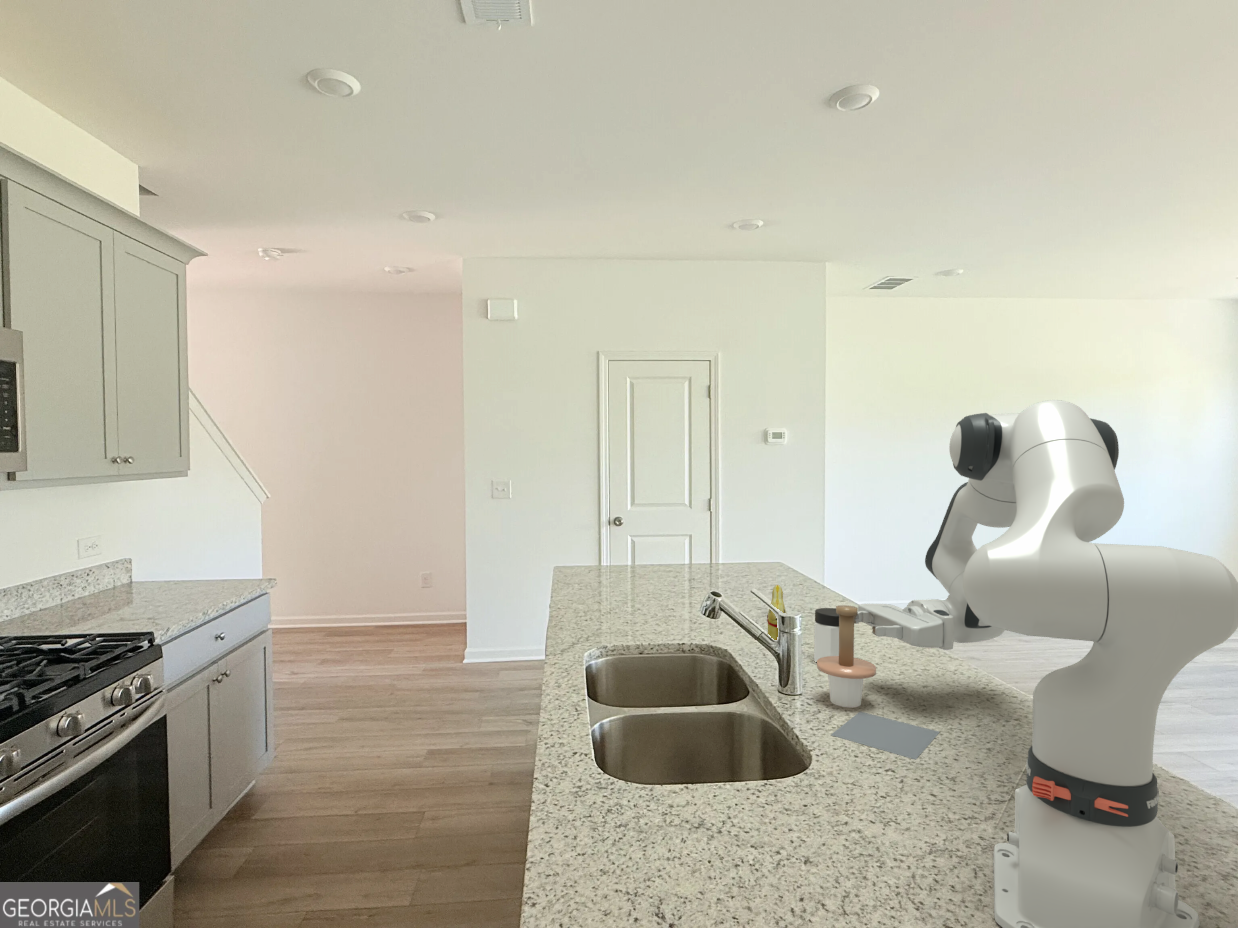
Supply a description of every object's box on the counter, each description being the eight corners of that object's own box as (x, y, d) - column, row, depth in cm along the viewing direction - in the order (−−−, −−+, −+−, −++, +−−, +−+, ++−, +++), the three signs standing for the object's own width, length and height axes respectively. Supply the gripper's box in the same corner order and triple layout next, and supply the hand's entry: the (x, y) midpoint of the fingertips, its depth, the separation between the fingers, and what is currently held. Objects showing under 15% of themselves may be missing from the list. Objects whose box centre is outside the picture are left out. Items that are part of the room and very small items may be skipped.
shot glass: (866, 712, 125) (867, 676, 125) (829, 709, 126) (829, 673, 126) (860, 699, 132) (861, 665, 131) (825, 697, 133) (825, 662, 133)
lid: (863, 682, 121) (864, 617, 121) (807, 669, 128) (808, 607, 128) (884, 668, 129) (885, 607, 129) (830, 657, 136) (831, 598, 136)
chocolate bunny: (766, 646, 168) (766, 588, 168) (767, 635, 179) (767, 581, 179) (793, 649, 166) (794, 590, 166) (793, 637, 177) (793, 582, 177)
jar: (849, 669, 150) (849, 617, 150) (812, 664, 154) (812, 613, 154) (851, 658, 159) (852, 609, 159) (816, 654, 162) (817, 606, 162)
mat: (915, 762, 104) (915, 759, 104) (830, 738, 113) (830, 734, 113) (939, 735, 115) (939, 731, 115) (860, 714, 124) (860, 711, 124)
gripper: (894, 595, 142) (835, 597, 139) (958, 618, 122) (890, 621, 119) (894, 624, 142) (835, 626, 140) (958, 652, 122) (890, 655, 119)
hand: (861, 624), depth 129 cm, fingers open, 8 cm apart
